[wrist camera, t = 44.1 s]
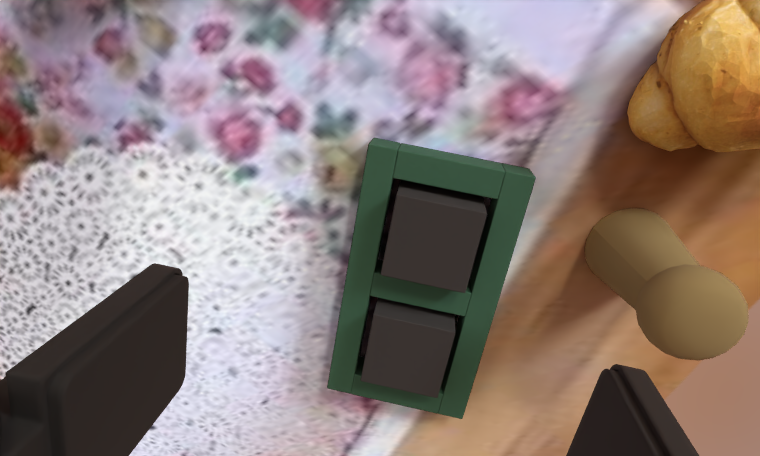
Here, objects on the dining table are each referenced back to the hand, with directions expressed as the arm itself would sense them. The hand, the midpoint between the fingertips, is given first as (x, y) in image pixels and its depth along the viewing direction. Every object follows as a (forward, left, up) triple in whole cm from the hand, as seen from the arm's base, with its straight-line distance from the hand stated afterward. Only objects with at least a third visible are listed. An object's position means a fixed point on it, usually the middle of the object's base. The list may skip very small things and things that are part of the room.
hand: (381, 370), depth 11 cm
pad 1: (+2, -5, -25) cm, 26 cm away
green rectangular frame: (+2, -10, -25) cm, 27 cm away
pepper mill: (+16, -4, -26) cm, 30 cm away
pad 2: (+2, -14, -25) cm, 29 cm away
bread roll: (+17, +9, -26) cm, 32 cm away
